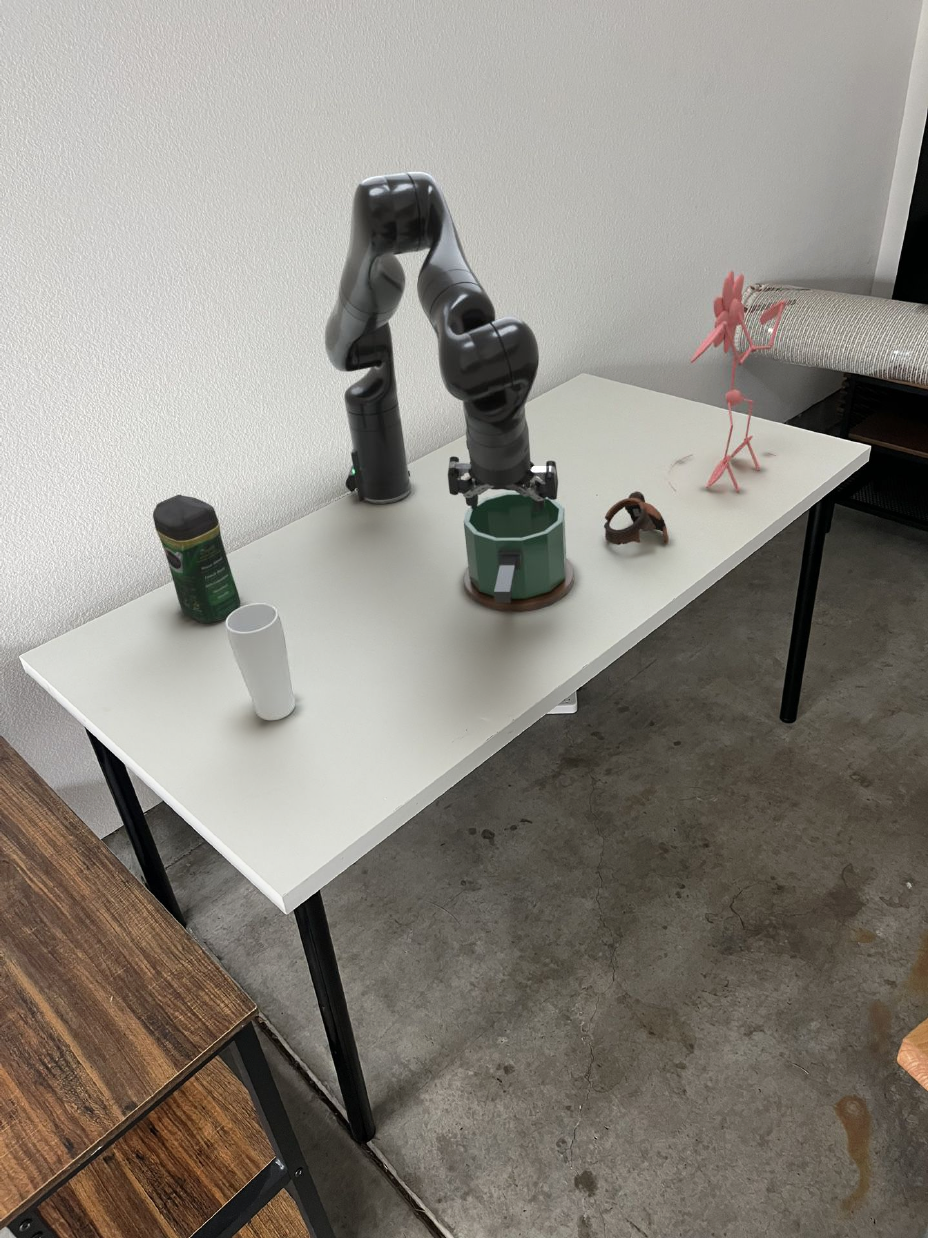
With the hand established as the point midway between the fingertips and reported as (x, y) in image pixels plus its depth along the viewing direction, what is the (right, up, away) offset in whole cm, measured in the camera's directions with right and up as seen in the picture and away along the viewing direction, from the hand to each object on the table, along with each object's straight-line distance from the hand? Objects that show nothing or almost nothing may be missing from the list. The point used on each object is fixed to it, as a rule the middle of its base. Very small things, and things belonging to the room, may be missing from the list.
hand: (505, 505), depth 131 cm
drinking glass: (-31, -28, -4) cm, 42 cm away
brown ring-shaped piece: (+22, -3, +24) cm, 33 cm away
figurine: (+39, +10, +40) cm, 57 cm away
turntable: (+3, -10, +17) cm, 20 cm away
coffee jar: (-45, -14, +19) cm, 51 cm away
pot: (+2, -11, +12) cm, 16 cm away
